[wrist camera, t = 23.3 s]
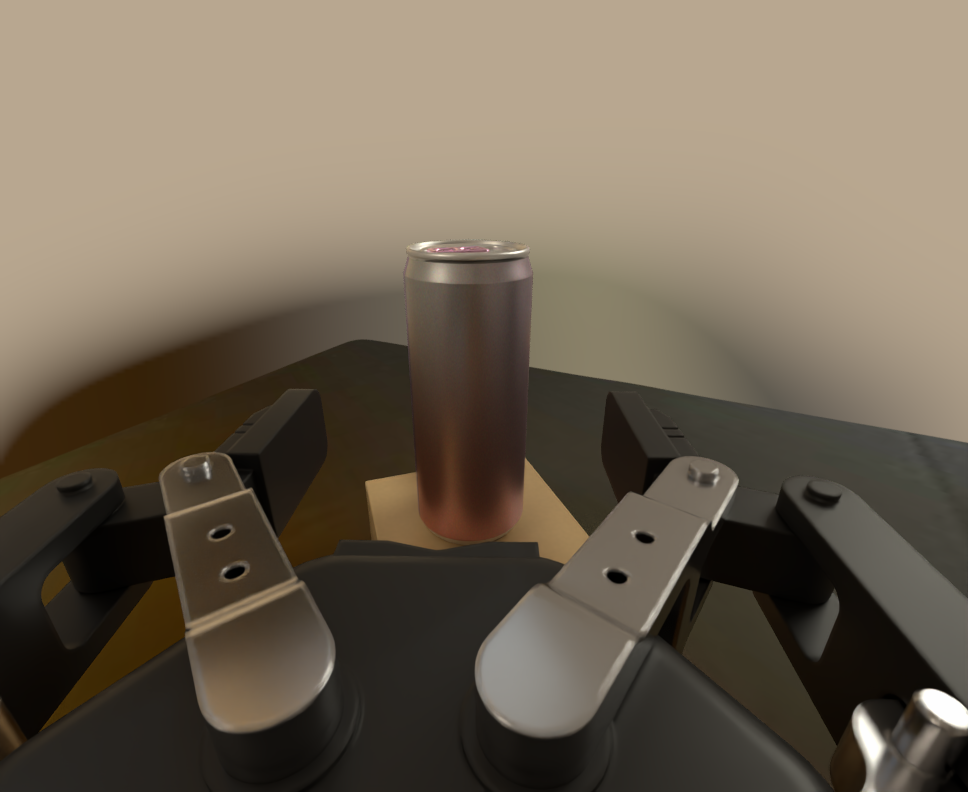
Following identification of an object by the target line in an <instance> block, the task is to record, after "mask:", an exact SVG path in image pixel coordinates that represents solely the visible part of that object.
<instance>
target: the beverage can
mask: <svg viewBox="0 0 968 792" xmlns="http://www.w3.org/2000/svg"><path fill="white" fill-rule="evenodd" d="M406 253H407V254H408V257H407V262H406V265H405V269H404V291H405V306H406V321H407V336H408V354H409V369H410V385H411V401H412V417H413V432H414V448H415V464H416V480H417V495H418V511H419V515H420V518H421V520H422V521H423V522H424V524H425V525H426V526H427V527H428V529H429V530H430V531H431V532H432V533H434V534H435V535H436V536H438V537H439V538H441V539H443V540H445V541H448V542H451V543H454V544H460V545H472V544H478V543H483V542H492V541H495V540H497V539H499V538H501V537H503V536H504V535H505V534H507V533H508V532H509V531H510V530H511V529H512V528H513V527H514V526H515V524H516V523H517V522H518V520H519V519H520V517H521V514H522V511H523V493H524V470H525V447H526V423H527V400H528V377H529V351H530V329H531V307H532V284H533V271H532V268H531V264H530V261H529V257H528V254H529V253H530V249H529V246H527V245H525V244H521V243H516V242H508V241H497V240H440V241H428V242H421V243H415V244H411V245H409V246H407V248H406Z"/></svg>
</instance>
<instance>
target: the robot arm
mask: <svg viewBox="0 0 968 792" xmlns="http://www.w3.org/2000/svg"><path fill="white" fill-rule="evenodd" d="M326 454H327V436H326V429H325V423H324V416H323V409H322V403H321V397H320V394H319V392H318V391H317V390H316V389H288V390H287V391H286V392H285V393H284V394H283V395H282V396H281V397H280V398H279V399H278V400H277V401H276V402H275V403H274V404H273V405H272V406H268V407H266V408H264V409H262V410H260V411H258V412H256V413H254V414H253V415H252V416H251V417H249V418H248V419H247V420H246V421H245V422H244V423H243V426H240V427H239V428H238V429H237V430H236V431H235V434H232V435H231V436H230V437H229V438H228V439H227V440H226V441H225V442H224V443H223V444H222V445H221V446H220V447H219V448H218V449H216V450H215V451H214V452H208V453H200V454H195V455H191V456H188V457H185V458H182V459H180V460H177V461H175V462H173V463H172V464H170V465H169V466H167V467H166V468H165V469H164V470H162V472H161V473H160V475H159V482H155V483H149V484H143V485H137V486H131V487H125V488H122V486H121V483H120V480H119V477H118V475H117V473H116V472H115V471H114V470H111V469H105V468H97V469H88V470H83V471H78V472H74V473H71V474H68V475H65V476H63V477H60V478H58V479H55V480H53V481H51V482H49V483H48V484H46V485H44V486H43V487H41V488H40V489H39V490H37V491H36V492H34V493H33V494H32V495H30V496H29V497H28V498H26V499H25V500H24V501H22V502H21V503H19V504H18V505H17V506H15V507H14V508H13V509H11V510H10V511H8V512H7V513H6V514H4V515H3V516H2V517H0V792H834V790H835V792H968V599H967V598H966V597H965V596H964V595H963V594H962V593H961V592H960V591H959V590H958V589H957V588H956V587H955V586H953V585H952V584H951V583H950V582H949V581H948V580H947V579H946V578H945V577H944V576H943V575H942V574H941V573H940V572H939V571H938V570H937V569H935V568H934V567H933V566H932V565H931V564H930V563H929V562H928V561H927V560H926V559H925V558H924V557H923V556H922V555H921V554H920V553H918V552H917V551H916V550H915V549H914V548H913V547H912V546H911V545H910V544H909V543H908V542H907V541H906V540H905V539H904V538H903V537H902V536H900V535H899V534H898V533H897V532H896V531H895V530H894V529H893V528H892V527H891V526H890V525H889V524H888V523H887V522H886V521H885V520H883V519H882V518H881V517H880V516H879V515H878V514H877V513H876V512H875V511H874V510H873V509H872V508H871V507H870V506H869V505H868V504H866V503H865V502H864V501H863V500H862V499H861V498H860V497H859V496H858V495H857V494H855V493H854V492H853V491H851V490H850V489H848V488H846V487H844V486H842V485H840V484H838V483H835V482H832V481H830V480H826V479H823V478H819V477H813V476H792V477H789V478H787V479H785V480H784V481H783V483H782V487H781V490H780V493H779V494H776V493H771V492H765V491H760V490H755V489H750V488H745V487H742V486H738V482H739V481H738V477H737V475H736V474H735V472H733V471H732V470H731V469H730V468H729V467H727V466H725V465H724V464H722V463H719V462H717V461H714V460H711V459H707V458H703V457H700V456H699V454H698V453H697V452H696V450H695V449H694V448H693V446H692V445H691V444H690V442H689V441H688V440H687V438H684V435H683V433H682V432H681V431H680V430H678V427H677V425H676V424H675V423H674V421H673V420H672V419H671V418H670V417H669V416H667V415H666V414H664V413H662V412H661V411H659V410H657V409H649V408H648V407H647V405H646V404H645V402H644V401H643V399H642V398H641V397H640V395H639V394H638V392H609V393H608V395H607V399H606V407H605V416H604V425H603V434H602V443H601V454H602V462H603V465H604V468H605V470H606V473H607V476H608V478H609V481H610V483H611V486H612V488H613V491H614V494H615V496H616V499H617V501H618V505H617V506H616V507H615V508H614V509H613V510H612V511H611V513H610V514H609V515H608V516H607V517H606V518H605V519H604V521H603V522H602V523H601V524H600V525H599V526H598V527H597V529H596V530H595V531H594V532H593V533H592V534H591V536H590V537H589V538H588V539H587V540H586V541H585V542H584V544H583V545H582V546H581V547H580V548H579V549H578V550H577V552H576V553H575V554H574V555H573V556H572V557H571V558H570V560H569V561H568V562H567V563H566V564H563V563H560V562H557V561H554V560H551V559H548V558H543V557H540V555H539V547H538V542H483V543H478V544H472V545H466V546H460V547H454V548H448V549H442V550H433V549H428V548H423V547H418V546H413V545H408V544H403V543H398V542H393V541H389V540H340V541H339V543H338V545H337V548H336V550H335V552H334V555H329V556H325V557H321V558H317V559H314V560H311V561H308V562H305V563H303V564H301V565H298V566H296V567H294V568H292V566H291V564H290V562H289V560H288V558H287V556H286V554H285V552H284V550H283V548H282V546H281V544H280V542H279V540H278V538H279V536H280V534H281V533H282V531H283V529H284V528H285V526H286V524H287V523H288V521H289V519H290V518H291V516H292V514H293V513H294V511H295V509H296V508H297V506H298V504H299V503H300V501H301V499H302V498H303V496H304V494H305V493H306V491H307V489H308V488H309V486H310V484H311V483H312V481H313V479H314V478H315V476H316V474H317V473H318V471H319V469H320V468H321V466H322V464H323V463H324V461H325V458H326ZM61 561H62V562H63V564H64V566H65V568H66V570H67V573H68V575H69V577H70V579H71V581H70V582H69V583H68V584H67V585H66V586H65V587H64V588H63V589H62V590H61V591H60V592H59V593H58V594H57V595H56V596H55V597H54V598H53V599H52V600H51V601H50V602H49V603H48V604H47V605H46V606H45V607H44V605H43V603H42V600H41V589H42V586H43V583H44V581H45V579H46V577H47V576H48V574H49V573H50V572H51V571H52V570H53V569H54V568H55V567H56V566H57V565H58V564H59V563H60V562H61ZM174 576H176V581H177V586H178V591H179V596H180V601H181V606H182V611H183V616H184V621H185V626H186V631H185V637H184V638H183V639H181V640H180V641H178V642H176V643H175V644H173V645H172V646H170V647H169V648H167V649H166V650H164V651H163V652H161V653H160V654H158V655H157V656H155V657H154V658H152V659H151V660H149V661H148V662H146V663H144V664H143V665H141V666H140V667H138V668H137V669H135V670H134V671H132V672H131V673H129V674H128V675H126V676H125V677H123V678H122V679H120V680H118V681H117V682H115V683H114V684H112V685H111V686H109V687H108V688H106V689H105V690H103V691H102V692H100V693H99V694H97V695H96V696H94V697H92V698H91V699H89V700H88V701H86V702H85V703H83V704H82V705H80V706H79V707H77V708H76V709H74V710H73V711H71V712H70V713H68V714H67V715H65V716H63V717H62V718H60V719H59V720H57V721H56V722H54V723H53V724H51V725H50V726H48V727H47V728H45V729H44V730H42V731H41V732H39V731H40V730H41V728H42V727H43V726H44V725H45V723H46V722H47V721H48V719H49V718H50V717H51V715H52V714H53V713H54V711H55V710H56V709H57V708H58V706H59V705H60V704H61V702H62V701H63V700H64V698H65V697H66V696H67V695H68V693H69V692H70V691H71V689H72V688H73V687H74V685H75V684H76V683H77V681H78V680H79V679H80V678H81V676H82V675H83V674H84V672H85V671H86V670H87V668H88V667H89V666H90V665H91V663H92V662H93V661H94V659H95V658H96V657H97V655H98V654H99V653H100V651H101V650H102V649H103V648H104V646H105V645H106V644H107V642H108V641H109V640H110V638H111V637H112V636H113V635H114V633H115V632H116V631H117V629H118V628H119V627H120V625H121V624H122V623H123V621H124V620H125V619H126V618H127V616H128V615H129V614H130V612H131V611H132V610H133V608H134V607H135V606H136V604H137V603H138V602H139V601H140V599H141V598H142V597H143V595H144V594H145V593H146V591H147V590H148V589H149V587H150V586H151V584H152V582H153V581H155V580H160V579H164V578H169V577H174ZM713 581H715V582H720V583H724V584H728V585H732V586H736V587H740V588H744V589H748V590H752V591H753V594H754V597H755V598H756V600H757V602H758V604H759V606H760V607H761V609H762V611H763V613H764V615H765V616H766V618H767V620H768V622H769V624H770V625H771V627H772V629H773V631H774V633H775V635H776V636H777V638H778V640H779V642H780V644H781V645H782V647H783V649H784V651H785V653H786V654H787V656H788V658H789V660H790V662H791V663H792V665H793V667H794V669H795V671H796V672H797V674H798V676H799V678H800V680H801V682H802V683H803V685H804V687H805V689H806V691H807V692H808V694H809V696H810V698H811V700H812V701H813V703H814V705H815V707H816V709H817V710H818V712H819V714H820V716H821V718H822V719H823V721H824V723H825V725H826V727H827V729H828V730H829V732H830V734H831V736H832V738H833V739H834V741H835V743H836V745H837V748H836V750H835V752H834V754H833V756H832V758H831V762H830V777H831V782H832V785H833V787H834V790H833V789H832V788H831V787H830V785H829V784H828V783H827V781H826V780H825V779H824V778H823V777H822V776H821V775H820V774H819V772H818V771H817V770H816V769H815V768H814V767H813V766H812V765H811V764H810V763H809V762H808V761H807V760H806V759H805V758H804V757H803V756H802V755H801V754H800V753H798V752H797V751H796V750H795V749H794V748H793V747H792V746H791V745H789V744H788V743H787V742H786V741H785V740H783V739H782V738H781V737H780V736H779V735H777V734H776V733H775V732H774V731H773V730H771V729H770V728H769V727H768V726H767V725H765V724H764V723H763V722H762V721H761V720H759V719H758V718H757V717H756V716H755V715H753V714H752V713H751V712H750V711H749V710H747V709H746V708H745V707H744V706H743V705H741V704H740V703H739V702H738V701H737V700H735V699H734V698H733V697H732V696H731V695H729V694H728V693H727V692H726V691H725V690H723V689H722V688H721V687H720V686H719V685H717V684H716V683H715V682H714V681H713V680H711V679H710V678H709V677H708V676H707V675H705V674H704V673H703V672H702V671H701V670H699V669H698V668H697V667H696V666H695V665H693V664H692V663H691V662H690V661H689V660H687V659H686V658H685V657H684V656H683V655H682V652H683V649H684V647H685V644H686V641H687V639H688V637H689V635H690V632H691V630H692V628H693V626H694V624H695V622H696V619H697V617H698V615H699V613H700V611H701V609H702V607H703V604H704V602H705V600H706V598H707V596H708V594H709V591H710V589H711V587H712V584H713ZM834 587H835V589H836V592H837V595H838V598H837V596H836V595H835V594H834V592H833V590H834ZM38 732H39V733H38Z"/></svg>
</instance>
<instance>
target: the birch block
mask: <svg viewBox="0 0 968 792" xmlns="http://www.w3.org/2000/svg"><path fill="white" fill-rule="evenodd" d="M365 486H366V495H367V503H368V512H369V521H370V529H371V538H372V540H389V541H393V542H398V543H403V544H408V545H413V546H418V547H423V548H428V549H433V550H442V549H448V548H454V547H460V546H466V545H460V544H454V543H451V542H448V541H445V540H443V539H441V538H439V537H438V536H436V535H435V534H434V533H432V532H431V531H430V530H429V529H428V527H427V526H426V525H425V524H424V522H423V521H422V520H421V518H420V515H419V511H418V495H417V480H416V472H414V473H409V474H403V475H398V476H392V477H387V478H381V479H376V480H370V481H366V482H365ZM588 538H589V536H588V535H587V533H586V532H585V531H584V530H583V528H582V527H581V526H580V525H579V523H578V522H577V521H576V520H575V519H574V517H573V516H572V515H571V514H570V512H569V511H568V510H567V509H566V508H565V506H564V505H563V504H562V503H561V501H560V500H559V499H558V498H557V496H556V495H555V494H554V493H553V492H552V490H551V489H550V488H549V487H548V485H547V484H546V483H545V482H544V480H543V479H542V478H541V477H540V476H539V474H538V473H537V472H536V471H535V469H534V468H533V467H532V466H531V464H530V463H529V462H528V461H527V460H526V458H525V470H524V493H523V511H522V514H521V517H520V519H519V520H518V522H517V523H516V524H515V526H514V527H513V528H512V529H511V530H510V531H509V532H508V533H507V534H505V535H504V536H503V537H501V538H499V539H497V540H495V541H492V542H538V547H539V555H540V557H543V558H548V559H551V560H554V561H557V562H560V563H563V564H566V563H567V562H568V561H569V560H570V558H571V557H572V556H573V555H574V554H575V553H576V552H577V550H578V549H579V548H580V547H581V546H582V545H583V544H584V542H585V541H586V540H587V539H588Z"/></svg>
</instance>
